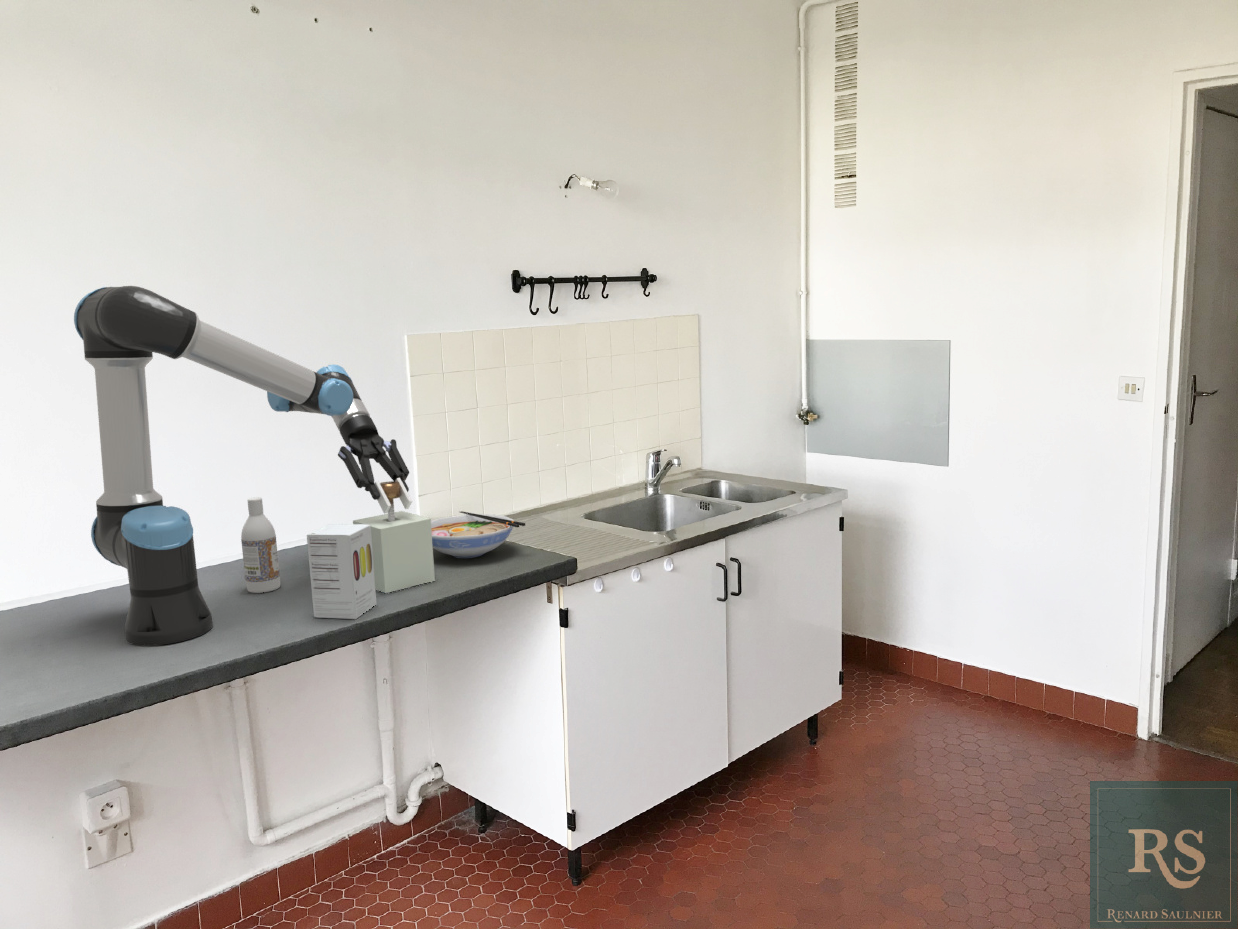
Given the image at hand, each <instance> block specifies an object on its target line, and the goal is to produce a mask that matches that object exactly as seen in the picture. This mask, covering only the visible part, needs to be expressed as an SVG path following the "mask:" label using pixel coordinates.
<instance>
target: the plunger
mask: <svg viewBox="0 0 1238 929" xmlns="http://www.w3.org/2000/svg"><path fill="white" fill-rule="evenodd" d="M379 483H380V485H381V487H382V489H383V491H384V493H385V494H386V496H387V498H388V500H389V502H390V504H391V507H390V509H389V511H388V513H387V514H388V522H391V521H395V513H394V512H395V504H394V503H395V502H394V499H400V498H399V497H400V484H399V482H396V481H393V480H391V481H384V482H383V481H381V482H379Z"/></svg>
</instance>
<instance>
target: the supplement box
mask: <svg viewBox="0 0 1238 929" xmlns="http://www.w3.org/2000/svg"><path fill="white" fill-rule="evenodd" d="M306 543H307V553H308V554H307V555H308V564H309V576H310V586H311V589H310V590H311V597H312V599H311V600H312V609H313V610H312V611H313V618H320V619H323V618H324V619H325V618H327V619H343V620H345V619H346V620H357V619H358V618H359V617H361V616H363V615H364V614H365V613H367V612H368V611H370V610H372V609H373V608H374V607H376V606H377V594H376V592H377V591H376V590H375V578H374V565H373V552H372V538H371V526H370V525H366V524H353V523H351V524H349V523H348V524H347V523H345V524H343V523H330V524H327V525H325V526H323V527H322V528H319V529H316V530H315V531H312V532H310V533H307V535H306ZM375 605H376V606H375ZM373 606H374V607H373ZM372 607H373V608H372ZM369 609H370V610H369ZM366 611H367V612H366ZM363 613H364V614H363Z"/></svg>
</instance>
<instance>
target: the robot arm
mask: <svg viewBox="0 0 1238 929" xmlns="http://www.w3.org/2000/svg"><path fill="white" fill-rule="evenodd" d="M73 324H74V328H75V330H76V332H77V334H78V335H79V337H80V338H81V340H82V341H83V352H84V360H85V361H86V362H87V363H88V364H90V366H92V367H93V369H94V376H95V377H94V378H95V389H96V401H97V402H96V404H97V415H98V416H97V418H98V427H99V440H100V442H99V443H100V453H101V466H102V468H101V469H102V479H103V480H102V481H103V493H102V494H101V495H100V497H99V498H98V499H96V501H95V503H96V504H95V505H96V506H95V507H96V517H95V518H94V519H93V522H92V525H91V530H90V535H91V536H90V537H91V542H92V544H93V547H94V549H95V550H96V551H97V553H99V555H101V557H103V559H104V560H106V561H108V562H109V563H111V564H113V565H116V566H119V567H122V568H125V569H126V571H127V579H128V585H129V591H130V592H129V593H130V601H129V605H128V610H127V615H126V618H125V624H124V628H123V631H124V637H125V638H124V639H125V641H126V642H127V643H129V644H131V645H136V646H162V645H163V646H164V645H170V644H174V643H179V642H184V641H188V640H191V639H195V638H198V637H199V636H202V635H204V634H206V633H208V632H209V631H210V630H211V629H212V628H213V625H214V622H213V621H214V620H213V616H212V612H211V610H210V608H209V606H208V603H207V602H206V600H205V598H204V596H203V594H202V592H201V590H200V587H199V580H198V569H197V561H196V552H195V550H196V549H195V540H194V527H193V524H192V521H191V517H190V514H189V512H187V511H186V510H184V509H183V508H180V507H177V506H174V505H173V506H166V505H164V503H163V502H164V501H163V495H161V494H160V493H159V492H157V491H156V490H155V489H154V482H153V479H154V478H153V467H152V466H153V465H152V452H151V438H150V424H149V423H150V422H149V409H148V407H149V406H148V395H147V394H148V393H147V382H146V381H147V380H146V379H147V378H146V367H147V365H148V364H149V363H150V362H151V361H152V360H153V359H154V356H153V354H154V353H155V354H159V355H163V356H165V357H168V358H169V359H172V360H177V359H181V358H184V359H186V360H188V361H192V362H194V363H196V364H199V365H202V366H204V367H207V368H209V369H211V370H214V371H216V372H219V373H222V374H223V375H226V376H229V377H232V378H234V379H235V380H239V381H241V382H244V383H246V384H248V385H251V386H254V387H256V388H257V389H260V390H263V391H265V392H267V393H266V394H267V395H266V398H267V401H268V404H269V406H270V408H271V409H272V410H273V411H274V412H276V413H277V412H280V413H282V412H285V413H288V412H303V413H310V414H319V415H326V416H328V417H331V418H332V419H333V422H334V423H335V426H336V428H337V430H338V431H339V434H340V436H341V437H342V438H341V439H342V440H343V442H344V444H345V445H346V446H345V445H342V446H340V448H339V450H338V452H337V456H338V458H340V460H342V461H343V463H344V464H345V467H346V468H347V470H348V472H349V474H350V476H351V478H352V480H353V482H354V483H355V486H356V488H358V489H362V488H364V491H366V492H369V493H370V496H371V498H372V499H373V500H376V501H377V502H378V504H379V506H380V508H381V510H382V512H383V513H384V514H388V511H389V509H390V507H391V504H390V502H389V500H388V498H387V496H386V494H385V493H384V491H383V489H382V487H381V485H380V483H381V482H380V481H379V480H377V481H375V477H374V473H373V469H372V464H371V461H370V460H371V459H372V460H374V462H376V463H377V464H379V466H381V468H382V469H383V470H384V471H385V472H386V473H387V475H388V476H389V478H391V481H396V482H399V484H400V497H399V498H398V499H399V501H400V502H401V504H402V505H403V508H404V509H405V510H409V509H410V508H411V505H412V503H413V499H412V498H411V496H410V494H409V491H410V489H409V488H410V487H408V484H407V482H406V480H407V478H408V476H409V474H410V471H409V468H408V466H407V465H406V462H405V461H404V459H403V457H402V454H400V453H401V452H400V451H399V448H398V446H397V440H396V439H390V441H387V440H384V438H383V437H381V435H379V434H380V433H379V432H378V428H377V426H376V424H375V422H374V421H373V419H372V417H371V416H370V413H369V411H368V409H367V407H366V405H365V403H364V402H363V400H362V398H361V397H360V394H359V392H358V390H357V388H356V386H355V384H354V382H353V380H352V378H351V377H350V376H349V374H348V372H347V371H346V370H345V368H344V367H342V365H339V364H328V365H327V366H322V367H321V368H320V369H318V370H316V371H313V369H310V368H307V367H305V366H302V365H301V364H299V363H296V362H294V361H291V360H289V359H287V358H285V357H283V356H280V355H278V354H276V353H273V352H272V351H269V350H267V349H265V348H263V347H261V346H258V345H256V344H254V343H251V342H249V341H247V340H245V339H243V338H240V337H238V336H236V335H234V334H231V333H229V332H228V331H224V330H222V329H219V328H217V327H215V326H213V325H211V324H209V323H207V322H204V321H203V320H200V319H199V315H198V314H197V313H196V312H195V311H193V310H190V309H189V308H187V307H185V306H182V305H180V304H178V303H177V302H175V301H172V300H171V299H168V298H167V297H164V296H163V295H160V294H159V293H156V292H154V291H152V290H150V289H147V288H145V287H141V286H136V285H122V286H103V287H100V288H96V289H95V290H92V291H91V292H88V293H87V294H85V295H84V297H82V298H81V299H80V300H79V302H78V303H77V305H76V306H75V310H74V313H73ZM387 453H388V455H387ZM354 456H356V457H357V460H358V462H357V461H356V459H355V457H354ZM359 465H360V466H359ZM384 514H383V515H384Z"/></svg>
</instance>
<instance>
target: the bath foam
mask: <svg viewBox="0 0 1238 929" xmlns="http://www.w3.org/2000/svg"><path fill="white" fill-rule="evenodd" d="M247 507H248V509H247V510H248V515H249V516H248V518H247V519H246V521H245V522H244V525H243V526H242V529H241V534H240V535H241V537H240V540H241V541H240V542H241V548H242V550H241V551H242V559H243V570H244V579H245V586H246V588H245V589H246V590H247V592H249V593H253V594H259V593H260V594H261V593H263V592H264V593H269V592H273V591H275V590H278V589H279V588H280V587H281V574H280V566H279V565H280V564H279V557H278V556H279V555H278V545H277V544H278V543H277V534H276V530H275V527H274V525H273V524H272V523H271V521H270V520H269V519H268V518H267V516H266V515H265V514H264V506H263V498H262V496H261V497H259V496H256V497H249V498H247ZM264 593H263V594H264Z"/></svg>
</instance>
